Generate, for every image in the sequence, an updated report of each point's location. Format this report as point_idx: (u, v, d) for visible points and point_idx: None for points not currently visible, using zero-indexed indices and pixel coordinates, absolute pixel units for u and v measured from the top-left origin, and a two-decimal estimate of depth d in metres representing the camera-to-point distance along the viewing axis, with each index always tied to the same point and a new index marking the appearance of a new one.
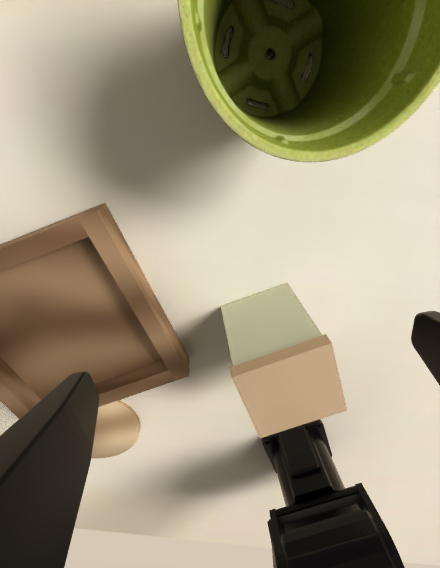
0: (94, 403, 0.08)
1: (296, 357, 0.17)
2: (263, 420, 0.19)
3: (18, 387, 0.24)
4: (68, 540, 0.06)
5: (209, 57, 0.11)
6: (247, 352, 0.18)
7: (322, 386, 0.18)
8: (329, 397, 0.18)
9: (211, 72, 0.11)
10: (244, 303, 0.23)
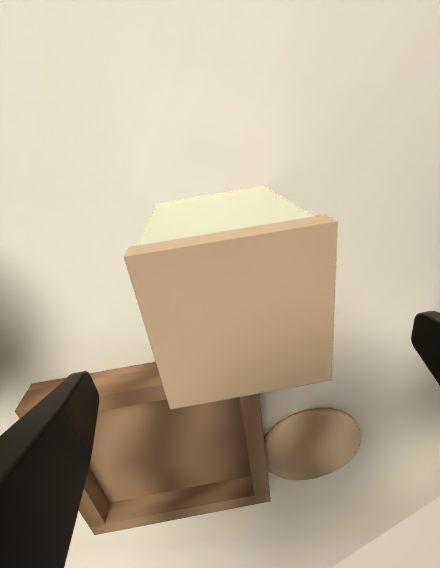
0: (94, 403, 0.08)
1: (149, 319, 0.09)
2: (288, 373, 0.10)
3: (219, 491, 0.24)
4: (68, 541, 0.06)
5: None
6: None
7: (240, 274, 0.09)
8: (279, 260, 0.08)
9: None
10: None
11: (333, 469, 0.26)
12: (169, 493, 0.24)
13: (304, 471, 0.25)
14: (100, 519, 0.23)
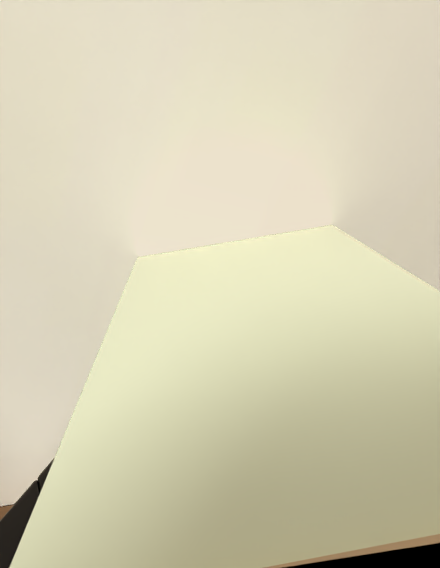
0: None
1: None
2: None
3: None
4: None
5: None
6: None
7: None
8: None
9: None
10: None
11: None
12: None
13: None
14: None
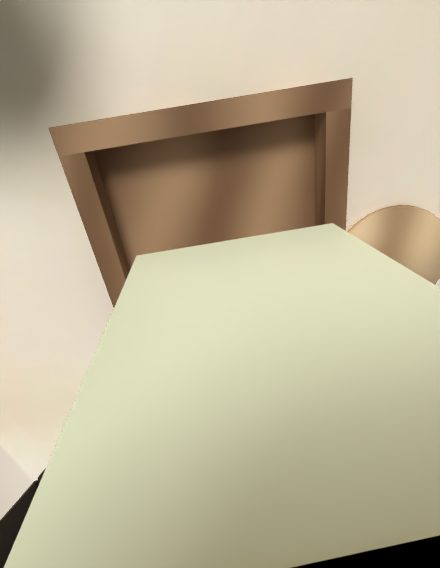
0: None
1: None
2: None
3: None
4: None
5: None
6: None
7: None
8: None
9: None
10: None
11: None
12: None
13: None
14: None
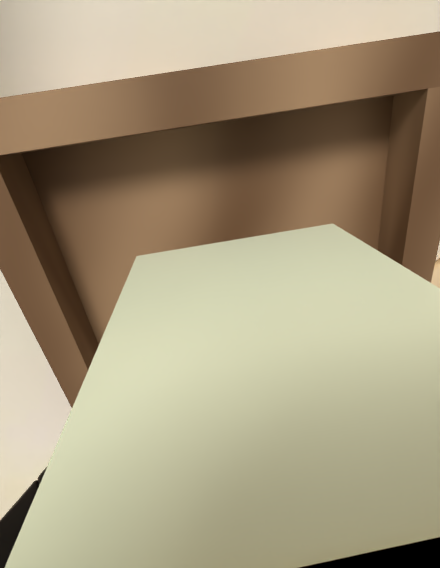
0: None
1: None
2: None
3: None
4: None
5: None
6: None
7: None
8: None
9: None
10: None
11: None
12: None
13: None
14: None
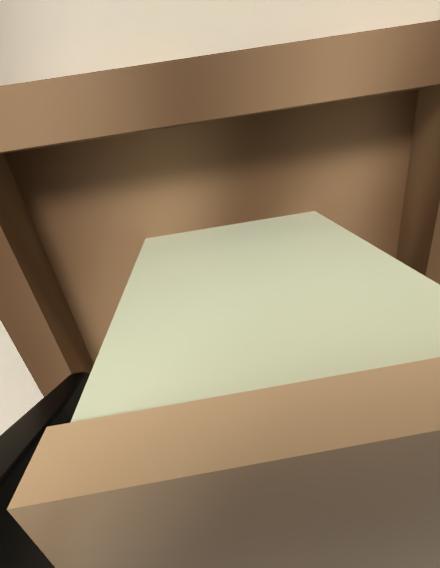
0: None
1: None
2: None
3: None
4: None
5: None
6: None
7: (351, 512, 0.03)
8: None
9: None
10: None
11: None
12: None
13: None
14: None
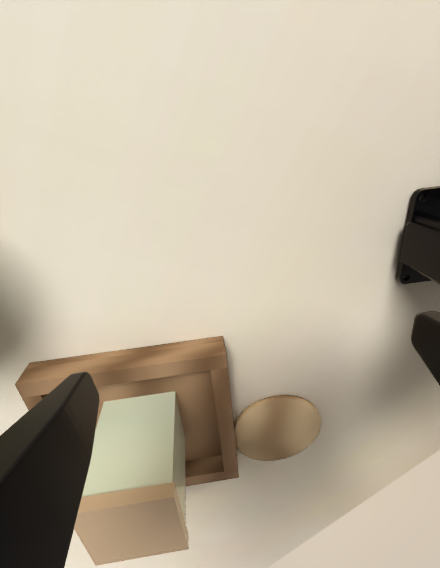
0: (94, 403, 0.08)
1: (80, 533, 0.17)
2: (162, 548, 0.19)
3: (193, 467, 0.27)
4: (68, 541, 0.06)
5: None
6: None
7: (127, 516, 0.17)
8: (146, 510, 0.17)
9: None
10: None
11: (296, 451, 0.29)
12: None
13: (270, 452, 0.28)
14: None
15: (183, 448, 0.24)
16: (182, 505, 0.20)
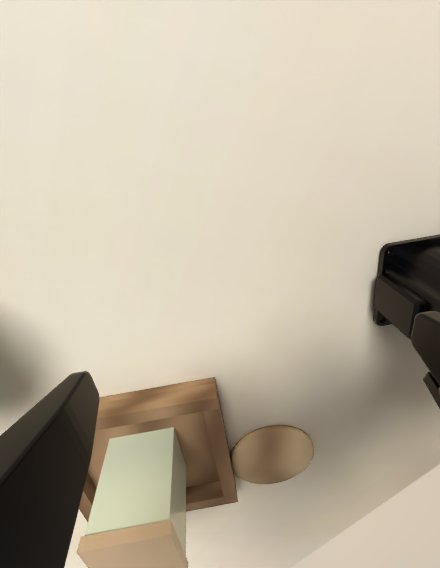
0: (94, 403, 0.08)
1: (90, 566, 0.19)
2: None
3: (195, 493, 0.29)
4: (68, 540, 0.06)
5: None
6: None
7: (130, 551, 0.19)
8: (147, 546, 0.19)
9: None
10: None
11: (292, 475, 0.30)
12: None
13: (268, 477, 0.30)
14: None
15: (183, 479, 0.26)
16: (181, 536, 0.22)
